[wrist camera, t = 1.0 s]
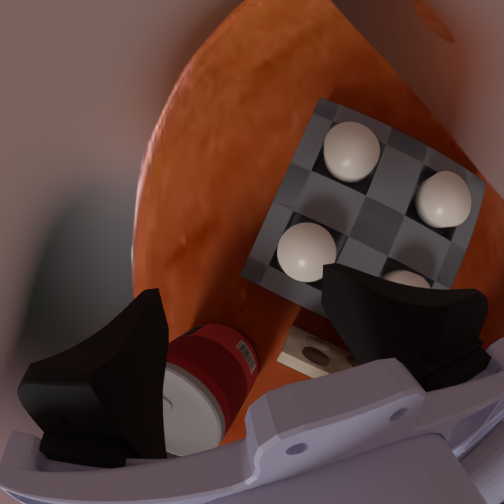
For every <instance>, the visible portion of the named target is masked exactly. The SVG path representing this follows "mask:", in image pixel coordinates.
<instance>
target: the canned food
mask: <svg viewBox="0 0 504 504" xmlns="http://www.w3.org/2000/svg"><path fill="white" fill-rule="evenodd" d="M257 373H258V360H257V356H256V352H255V350H254V348H253V346H252V344H251V343H250V342H249V340H248V339H247V338H246V337H245V336H244V335H243V334H242V333H240V332H239V331H238V330H236V329H234V328H232V327H230V326H228V325H224V324H219V323H206V324H201V325H198V326H196V327H194V328H192V329H191V330H189V331H188V332H186V333H184V334H183V335H181V336H180V337H178V338H176V339H175V340H173V341H172V342H170V343H169V347H168V355H167V362H166V370H165V377H164V386H163V418H164V434H165V444H166V451H167V452H170V453H172V454H176V455H179V456H186V455H190V454H194V453H198V452H201V451H205V450H209V449H212V448H216V447H217V446H218V445H219V444H220V443H221V441H222V440H223V438H224V436H225V435H226V433H227V432H228V430H229V428H230V426H231V425H232V423H233V421H234V419H235V417H236V416H237V414H238V412H239V410H240V408H241V406H242V405H243V403H244V401H245V399H246V397H247V395H248V393H249V392H250V390H251V388H252V386H253V384H254V382H255V380H256V377H257Z"/></svg>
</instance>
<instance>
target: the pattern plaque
mask: <svg viewBox="0 0 504 504" xmlns="http://www.w3.org/2000/svg"><path fill="white" fill-rule="evenodd" d="M277 361H279V362H281V363H283V364H285V365H287V366H289V367H291V368H293V369H295V370H297V371H300V372H302V373H304V374H306V375H308V376H310V377H313V378H317V377H321V376H324V375H328V374H332V373H336V372H339V371H343V370H346V369H350V368H353V367H356V366H359V365H358V363H357V361H356V359H355V357H354V356H353V354H352V353H351V352H349V351H346V350H344V349H342V348H340V347H338V346H335V345H333V344H331V343H329V342H327V341H325V340H323V339H321V338H318V337H316V336H314V335H312V334H310V333H308V332H306V331H304V330H302V329H300V328H298V327H296V326H293V325H292V326H291V328H290V330H289V332H288V334H287V337H286V339H285V342H284V344H283V347H282V349H281V351H280V354H279V356H278V359H277Z"/></svg>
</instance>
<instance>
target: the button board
mask: <svg viewBox="0 0 504 504" xmlns="http://www.w3.org/2000/svg"><path fill="white" fill-rule="evenodd" d="M343 122H356V123H359V124H362V125H364V126H366V127H367V128H369V129H370V130H371V131H372V132H373V133H374V135H375V136H376V138H377V140H378V142H379V146H380V155H379V159H378V161H377V163H376V165H375V166H374V168H373V169H372V171H371V172H370V174H369V175H368V176H367V177H366V178H365V179H363V180H362V181H359V182H356V183H346V182H342V181H340V180H338V179H336V178H335V177H333V176H332V175H331V174H330V172H329V171H328V170H327V168H326V165H325V161H324V141H325V138H326V135H327V133H328V132H329V131H330V129H331V128H333V127H334V126H335V125H337V124H340V123H343ZM441 171H450V172H453V173H455V174H457V175H458V176H460V177H461V178H462V179H463V180H464V182H465V183H466V185H467V187H468V189H469V191H470V195H471V209H470V213H469V215H468V217H467V218H466V220H465V221H464V222H463V223H461V224H460V225H457V226H452V227H444V228H433V227H430V226H428V225H427V224H425V223H424V222H423V221H422V220H421V219H420V217H419V216H418V214H417V211H416V208H415V202H414V199H415V193H416V190H417V188H418V186H419V185H420V184H421V183H422V182H424V181H425V180H427V179H428V178H430V177H432V176H433V175H435V174H436V173H438V172H441ZM485 188H486V182H484V181H483V180H482V179H480V178H479V177H477V176H476V175H474V174H473V173H471V172H470V171H468V170H467V169H465V168H464V167H462V166H461V165H459V164H458V163H456V162H454V161H453V160H451V159H449V158H448V157H446V156H445V155H443V154H441V153H439V152H438V151H436V150H434V149H433V148H431V147H429V146H427V145H425V144H424V143H422V142H420V141H418V140H416V139H414V138H412V137H411V136H409V135H407V134H405V133H403V132H401V131H399V130H397V129H395V128H393V127H391V126H388V125H386V124H384V123H382V122H380V121H378V120H375V119H373V118H371V117H369V116H366V115H364V114H362V113H359V112H357V111H355V110H352V109H350V108H347V107H345V106H342V105H339V104H337V103H334V102H332V101H329V100H326V99H323V98H321V97H320V99H319V101H318V103H317V106H316V108H315V110H314V112H313V114H312V117H311V119H310V121H309V123H308V125H307V128H306V130H305V132H304V134H303V136H302V139H301V141H300V143H299V145H298V148H297V150H296V152H295V154H294V156H293V159H292V161H291V163H290V165H289V168H288V170H287V172H286V174H285V176H284V179H283V181H282V183H281V185H280V187H279V190H278V192H277V194H276V196H275V199H274V201H273V203H272V205H271V207H270V210H269V212H268V214H267V216H266V219H265V221H264V223H263V225H262V227H261V230H260V232H259V234H258V236H257V239H256V241H255V243H254V245H253V247H252V250H251V252H250V254H249V256H248V259H247V261H246V263H245V265H244V267H243V270H242V272H241V274H240V276H242V277H244V278H246V279H248V280H250V281H252V282H254V283H256V284H258V285H260V286H262V287H264V288H266V289H268V290H270V291H272V292H274V293H276V294H278V295H280V296H282V297H284V298H286V299H288V300H290V301H292V302H294V303H296V304H298V305H300V306H302V307H304V308H306V309H308V310H310V311H312V312H314V313H317V314H319V315H321V316H323V317H325V318H327V319H328V317H327V315H326V313H325V311H324V309H323V307H322V304H321V299H322V278H321V279H319V280H316V281H312V282H301V281H298V280H295V279H293V278H291V277H290V276H288V275H287V274H286V273H285V272H284V270H283V269H282V267H281V266H280V263H279V261H278V256H277V249H278V244H279V241H280V239H281V237H282V235H283V234H284V233H285V232H286V231H287V230H288V229H289V228H290V227H292V226H294V225H296V224H299V223H314V224H317V225H320V226H321V227H323V228H324V229H326V230H327V231H328V232H329V233H330V235H331V236H332V238H333V240H334V242H335V246H336V259H335V262H334V263H338V264H342V265H345V266H348V267H351V268H354V269H357V270H360V271H362V272H365V273H368V274H371V275H373V276H376V277H379V278H382V277H383V276H384V275H385V274H386V273H388V272H390V271H392V270H397V269H401V270H406V271H409V272H412V273H414V274H417V275H419V276H421V277H423V278H424V279H425V280H426V281H427V282H428V284H429V286H430V288H431V289H447V290H450V289H451V287H452V284H453V282H454V280H455V277H456V275H457V273H458V270H459V268H460V265H461V263H462V260H463V258H464V255H465V252H466V250H467V247H468V244H469V241H470V238H471V235H472V232H473V229H474V226H475V223H476V220H477V217H478V213H479V210H480V206H481V203H482V199H483V195H484V192H485Z"/></svg>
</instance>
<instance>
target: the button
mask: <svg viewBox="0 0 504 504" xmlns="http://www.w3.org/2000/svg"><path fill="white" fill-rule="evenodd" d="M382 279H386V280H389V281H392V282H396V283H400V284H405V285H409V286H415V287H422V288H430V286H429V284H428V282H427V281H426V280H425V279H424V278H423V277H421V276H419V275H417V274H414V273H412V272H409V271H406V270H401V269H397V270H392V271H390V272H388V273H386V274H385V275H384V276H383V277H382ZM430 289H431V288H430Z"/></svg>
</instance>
